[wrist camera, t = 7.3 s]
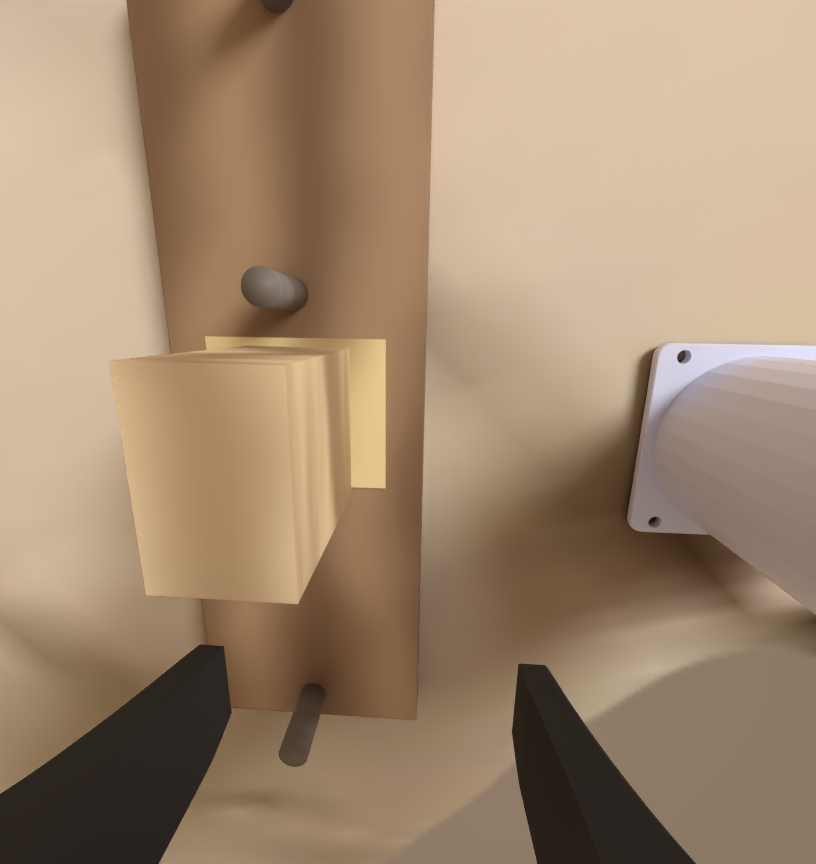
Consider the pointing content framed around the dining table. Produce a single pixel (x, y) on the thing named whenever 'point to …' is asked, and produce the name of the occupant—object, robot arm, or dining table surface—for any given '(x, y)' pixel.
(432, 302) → the dining table surface
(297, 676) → the peg board
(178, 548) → the light brown rectangular slab
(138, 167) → the dining table surface
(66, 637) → the dining table surface
